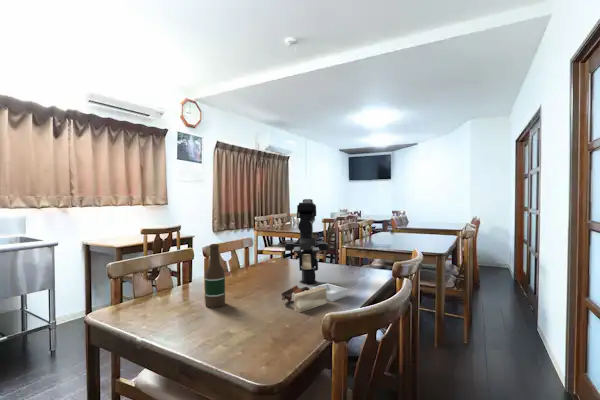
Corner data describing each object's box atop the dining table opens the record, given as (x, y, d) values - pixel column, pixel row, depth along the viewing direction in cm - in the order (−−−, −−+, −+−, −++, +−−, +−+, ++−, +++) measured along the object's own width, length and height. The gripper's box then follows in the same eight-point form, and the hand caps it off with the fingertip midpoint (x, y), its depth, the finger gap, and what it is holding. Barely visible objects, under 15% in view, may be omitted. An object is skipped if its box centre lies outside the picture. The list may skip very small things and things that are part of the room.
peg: (300, 268, 139) (300, 255, 139) (307, 266, 142) (306, 253, 141) (306, 269, 136) (306, 256, 136) (313, 268, 138) (313, 254, 138)
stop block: (294, 310, 116) (294, 294, 116) (321, 301, 125) (320, 286, 125) (299, 312, 114) (299, 296, 114) (326, 303, 123) (326, 288, 123)
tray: (311, 294, 134) (311, 287, 134) (327, 289, 140) (327, 283, 140) (331, 301, 125) (331, 294, 125) (348, 296, 131) (348, 289, 131)
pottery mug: (294, 312, 116) (284, 291, 117) (284, 315, 123) (275, 296, 125) (318, 297, 122) (308, 278, 124) (308, 302, 130) (299, 283, 132)
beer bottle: (229, 302, 126) (228, 243, 125) (218, 309, 118) (217, 246, 118) (212, 300, 128) (211, 242, 128) (201, 307, 121) (199, 245, 120)
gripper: (283, 232, 131) (283, 269, 131) (327, 232, 130) (328, 270, 130) (286, 230, 142) (286, 264, 142) (327, 229, 141) (327, 264, 141)
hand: (306, 265), depth 139 cm, fingers closed on peg, 4 cm apart
